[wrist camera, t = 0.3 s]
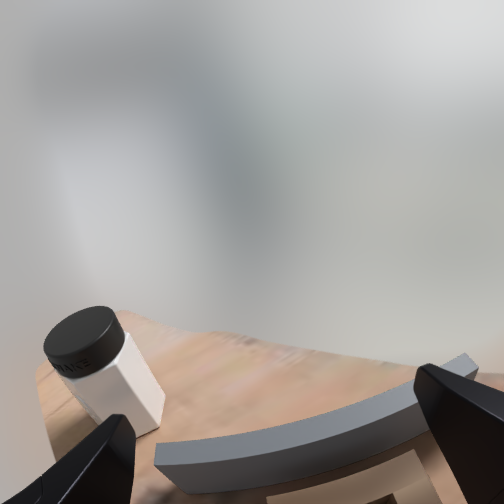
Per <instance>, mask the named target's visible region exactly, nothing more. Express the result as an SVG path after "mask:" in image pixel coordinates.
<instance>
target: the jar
mask: <svg viewBox="0 0 504 504" xmlns="http://www.w3.org/2000/svg"><path fill="white" fill-rule="evenodd" d="M44 352H45V354H46V356H47V357H48V360H49V361H50V363H51V364H52V366H53V367H54V370H55V371H56V373H57V374H58V375H59V377H60V378H61V380H62V381H63V382H64V384H65V385H66V386H67V388H68V389H69V390H70V392H71V393H72V394H73V395H74V397H75V398H76V399H77V401H78V402H79V403H80V404H81V405H82V407H83V408H84V409H85V410H86V411H87V413H88V414H89V415H90V416H91V417H92V418H93V419H94V421H95V422H96V423H97V424H98V425H100V424H101V423H102V422H103V421H105V420H106V419H107V418H108V417H109V416H110V415H112V414H124V415H125V416H126V417H127V418H128V420H129V422H130V423H131V425H132V427H133V429H134V430H135V433H136V438H137V437H139V436H141V435H143V434H146V433H148V432H150V431H152V430H154V429H156V428H158V427H159V426H160V423H161V417H162V412H163V407H164V402H165V397H166V395H165V394H164V392H163V390H162V389H161V387H160V386H159V384H158V382H157V381H156V379H155V378H154V376H153V374H152V373H151V371H150V369H149V367H148V366H147V364H146V362H145V361H144V359H143V357H142V355H141V353H140V352H139V350H138V348H137V346H136V344H135V343H134V341H133V339H132V337H131V335H130V333H128V332H125V331H123V329H122V327H121V325H120V323H119V321H118V319H117V317H116V315H115V313H114V312H113V310H112V309H110V308H109V307H105V306H95V307H89V308H86V309H83V310H81V311H78V312H76V313H74V314H72V315H70V316H68V317H67V318H65V319H64V320H62V321H61V322H60V323H58V324H57V325H56V326H55V327H54V328H53V329H52V330H51V331H50V333H49V334H48V336H47V337H46V339H45V342H44Z"/></svg>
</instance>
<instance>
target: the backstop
mask: <svg viewBox="0 0 504 504" xmlns="http://www.w3.org/2000/svg"><path fill="white" fill-rule="evenodd" d="M440 367H441V368H443V369H446V370H448V371H451V372H453V373H456V374H458V375H461V376H463V377H466V378H468V379H471V380H473V381H474V379H475V376H476V374H477V371H478V368H479V367H478V366H477V365H476V364H475V363H474V361H473V360H472V359H471V358H469V356H468V355H467V354H466V353H463V354H462V355H460V356H458V357H457V358H455V359H453V360H451V361H449V362H447V363H445V364H444V365H442V366H440ZM414 380H415V379H413V380H411V381H409V382H407V383H405V384H402V385H400V386H398V387H395V388H393V389H391V390H388V391H386V392H384V393H381V394H379V395H376V396H373V397H371V398H368V399H366V400H363V401H360V402H358V403H355V404H352V405H349V406H346V407H343V408H340V409H337V410H334V411H331V412H328V413H325V414H321V415H318V416H314V417H311V418H307V419H304V420H300V421H296V422H292V423H288V424H284V425H280V426H276V427H272V428H267V429H262V430H257V431H252V432H247V433H242V434H236V435H230V436H223V437H217V438H209V439H201V440H192V441H182V442H169V443H156V450H155V458H154V466H155V467H156V468H157V469H158V470H159V471H160V472H162V473H163V474H164V475H165V476H166V477H167V478H168V479H169V480H171V481H172V482H173V483H174V484H175V485H177V486H178V487H179V488H180V489H181V490H183V491H184V492H185V493H186V494H204V493H217V492H227V491H236V490H244V489H251V488H257V487H263V486H269V485H274V484H279V483H284V482H288V481H293V480H297V479H301V478H305V477H309V476H313V475H316V474H320V473H324V472H327V471H330V470H334V469H337V468H340V467H343V466H346V465H349V464H352V463H355V462H357V461H360V460H363V459H366V458H368V457H371V456H373V455H376V454H378V453H381V452H383V451H385V450H388V449H390V448H392V447H395V446H397V445H399V444H401V443H404V442H406V441H408V440H410V439H412V438H414V437H416V436H418V435H420V434H422V433H424V432H426V431H428V430H430V429H429V427H428V424H427V422H426V420H425V417H424V415H423V412H422V410H421V408H420V405H419V403H418V400H417V398H416V396H415V394H414V390H413V384H414Z"/></svg>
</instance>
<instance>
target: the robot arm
mask: <svg viewBox="0 0 504 504" xmlns="http://www.w3.org/2000/svg"><path fill="white" fill-rule="evenodd" d="M413 390H414V394H415V396H416V398H417V400H418V403H419V405H420V408H421V410H422V412H423V415H424V417H425V420H426V422H427V424H428V427H429V429H430V431H431V433H432V434H433V436H434V438H435V440H436V442H437V444H438V446H439V447H440V449H441V451H442V453H443V455H444V457H445V459H446V461H447V463H448V465H449V466H450V468H451V470H452V472H453V474H454V476H455V478H456V480H457V482H458V484H459V486H460V488H461V491H462V493H463V495H464V497H465V499H466V501H467V503H468V504H504V392H502V391H499V390H497V389H494V388H491V387H489V386H486V385H484V384H481V383H478V382H476V381H473V380H471V379H468V378H466V377H463V376H461V375H458V374H456V373H453V372H451V371H448V370H446V369H443V368H441V367H438V366H436V365H433V364H430V363H429V364H425V365H422V366H420V367H419V368H418V369H417V372H416V376H415V380H414V384H413ZM135 446H136V433H135V430H134V429H133V427H132V425H131V423H130V422H129V420H128V418H127V417H126V416H125V415H124V414H112V415H110V416H109V417H108V418H107V419H106V420H105V421H103V422H102V423H101V424H100V425H99V426H98V427H97V428H96V429H94V430H93V431H92V432H91V433H90V434H89V435H88V436H86V437H85V438H84V439H83V440H82V441H81V442H80V443H78V444H77V445H76V446H75V447H74V448H73V449H72V450H70V451H69V452H68V453H67V454H66V455H65V456H63V457H62V458H61V459H60V460H59V461H58V462H56V463H55V464H54V465H53V466H52V467H51V468H49V469H48V470H47V471H46V472H45V473H44V474H42V476H40V477H39V478H37V479H36V480H35V481H34V482H33V483H31V484H30V485H29V486H27V487H26V488H25V489H24V490H22V491H21V492H19V493H18V494H16V495H15V496H13V497H12V498H10V499H9V500H7V501H5V502H4V503H2V504H130V499H131V493H132V486H133V479H134V465H135Z"/></svg>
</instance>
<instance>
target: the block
mask: <svg viewBox="0 0 504 504" xmlns="http://www.w3.org/2000/svg"><path fill="white" fill-rule="evenodd" d="M266 499H267V504H442V502H441V500H440V498H439V496H438V494H437V492H436V490H435V488H434V486H433V484H432V483H431V481H430V479H429V477H428V475H427V473H426V471H425V469H424V467H423V465H422V463H421V462H420V460H419V458H418V456H417V454H416V452H415V450H414V449H413V450H411V451H408V452H406V453H404V454H402V455H400V456H398V457H396V458H393V459H391V460H389V461H386V462H384V463H382V464H379V465H377V466H374V467H372V468H369V469H366V470H364V471H361V472H358V473H356V474H353V475H350V476H347V477H344V478H341V479H338V480H334V481H331V482H328V483H324V484H321V485H317V486H313V487H310V488H306V489H302V490H297V491H293V492H289V493H284V494H279V495H274V496H268V497H266Z"/></svg>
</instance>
